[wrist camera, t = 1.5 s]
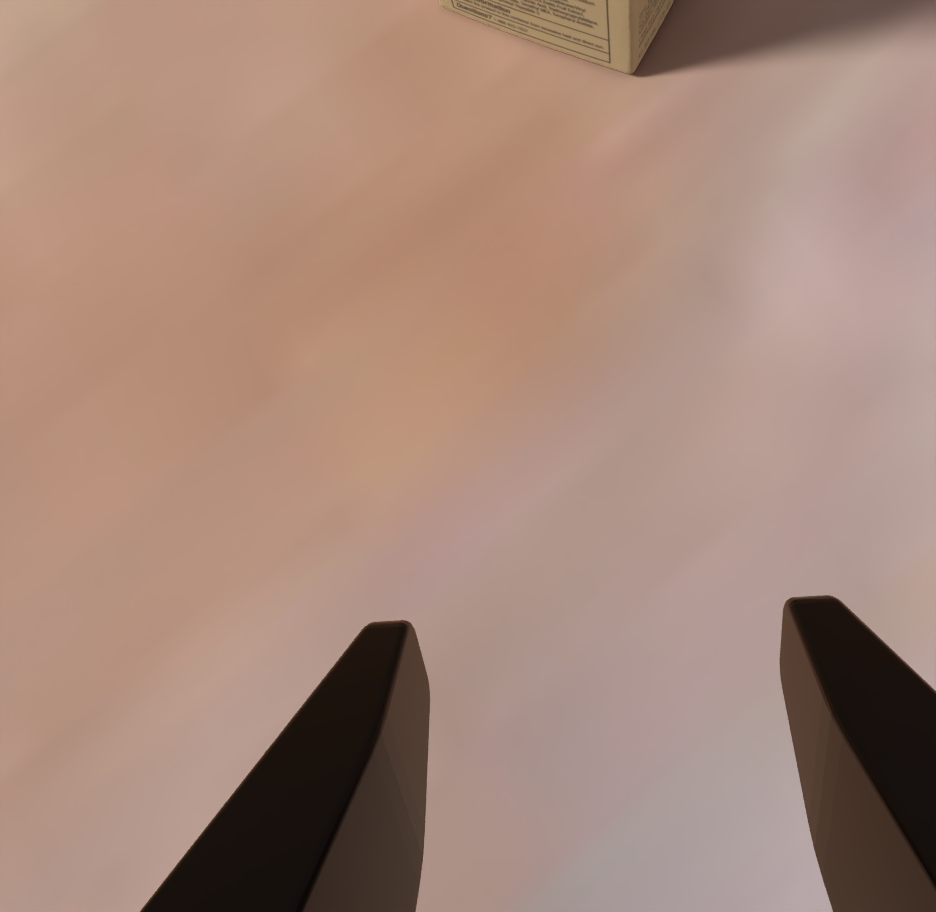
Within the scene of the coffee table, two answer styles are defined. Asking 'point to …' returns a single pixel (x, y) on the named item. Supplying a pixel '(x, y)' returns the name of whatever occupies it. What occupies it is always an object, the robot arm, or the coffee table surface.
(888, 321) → the coffee table surface
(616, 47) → the skincare box
